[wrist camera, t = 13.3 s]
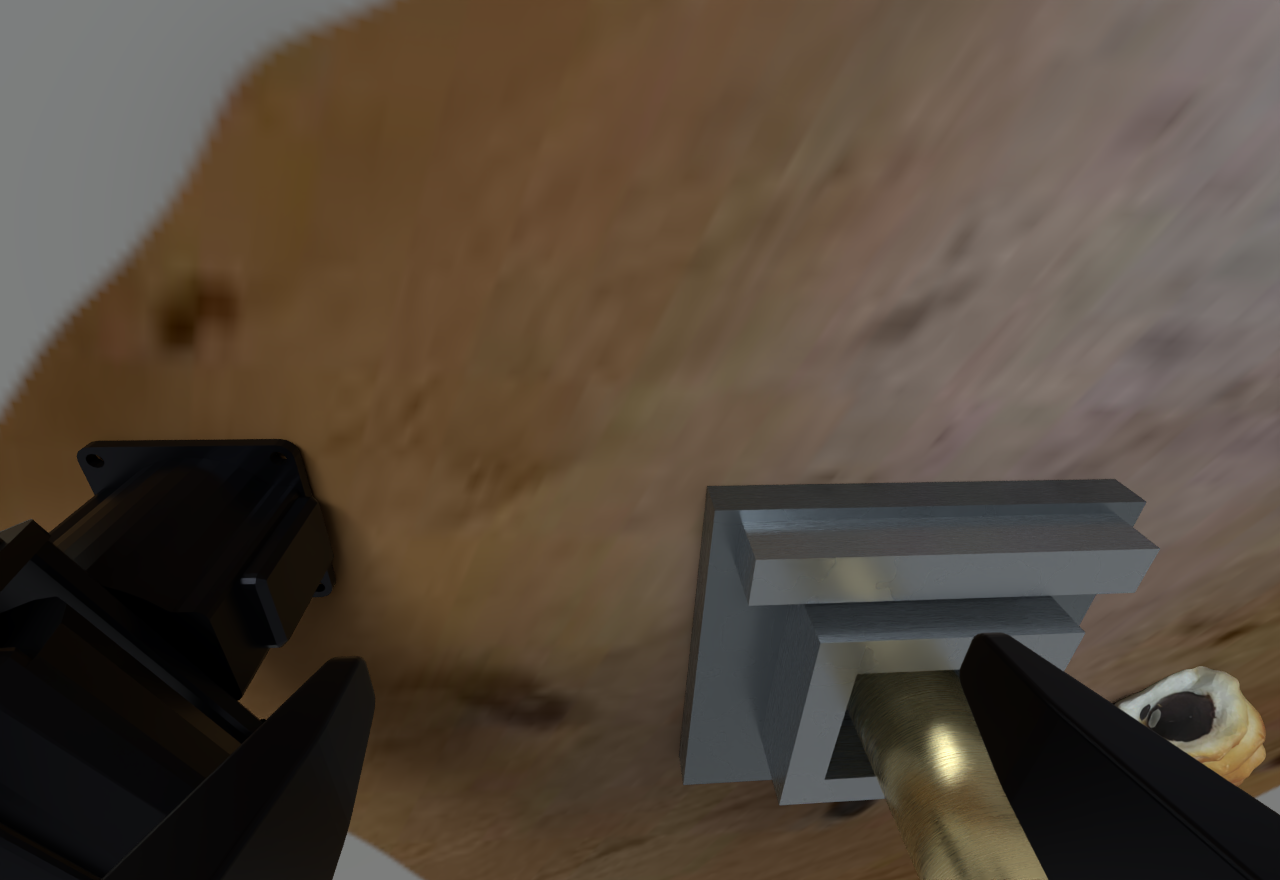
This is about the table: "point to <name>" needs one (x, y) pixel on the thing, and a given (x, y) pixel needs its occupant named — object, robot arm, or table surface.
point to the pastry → (1203, 720)
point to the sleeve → (939, 778)
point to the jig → (877, 607)
